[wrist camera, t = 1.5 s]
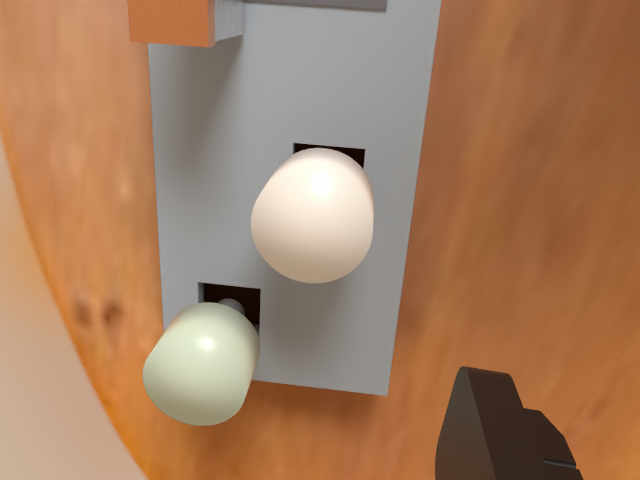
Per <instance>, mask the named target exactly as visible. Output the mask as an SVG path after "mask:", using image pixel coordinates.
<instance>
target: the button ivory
mask: <svg viewBox="0 0 640 480" xmlns="http://www.w3.org/2000/svg"><path fill="white" fill-rule="evenodd" d="M373 220H374V192H373V187H372V184H371V182H370V179H369V178H368V176H367V174H366V172H365V171H364V170H363V168H362V167H361V166H360V165H359V164H358V163H357V162H356V161H354V160H353V159H352V158H350V157H349V156H347V155H345V154H343V153H341V152H339V151H336V150H332V149H327V148H310V149H306V150H302V151H299V152H297V153H294V154H293V155H291V156H289V157H288V158H286V159H285V160H284V161H283V162H282V163H281V164H280V165H279V166H278V167H277V168H276V170H275V171H274V173H273V174H272V176H271V177H270V179H269V180H268V182H267V184H266V185H265V187H264V188H263V190H262V191H261V193H260V195H259V196H258V198H257V200H256V202H255V205H254V207H253V211H252V215H251V231H252V236H253V240H254V243H255V245H256V247H257V249H258V251H259V253H260V254H261V256H262V257H263V259H264V260H265V261H266V262H267V263H268V264H269V265H270V266H271V267H272V268H273V269H275V270H276V271H277V272H279V273H280V274H282V275H284V276H286V277H288V278H290V279H293V280H296V281H300V282H305V283H325V282H330V281H333V280H336V279H339V278H341V277H343V276H345V275H347V274H348V273H350V272H351V271H353V270H354V269H355V268H356V267H357V266H358V265H359V264H360V263H361V262H362V260H363V259H364V257H365V256H366V254H367V252H368V250H369V248H370V245H371V241H372V236H373Z"/></svg>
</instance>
